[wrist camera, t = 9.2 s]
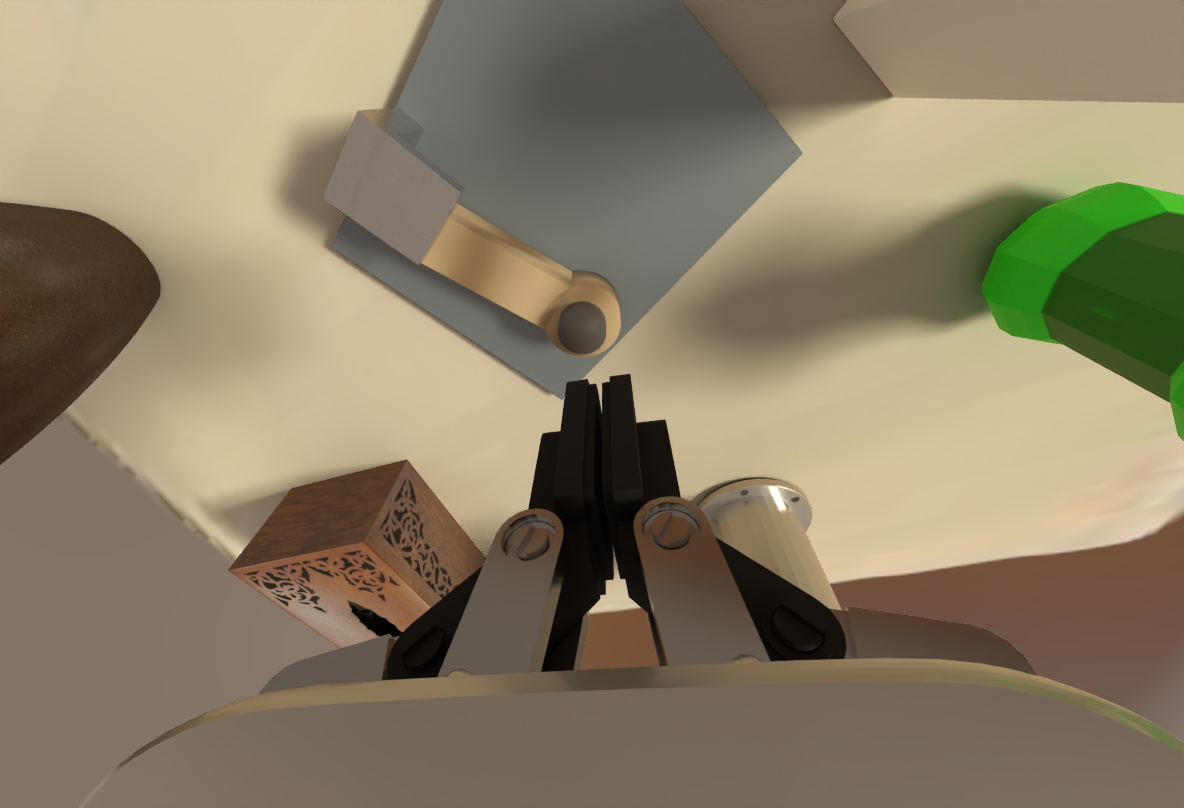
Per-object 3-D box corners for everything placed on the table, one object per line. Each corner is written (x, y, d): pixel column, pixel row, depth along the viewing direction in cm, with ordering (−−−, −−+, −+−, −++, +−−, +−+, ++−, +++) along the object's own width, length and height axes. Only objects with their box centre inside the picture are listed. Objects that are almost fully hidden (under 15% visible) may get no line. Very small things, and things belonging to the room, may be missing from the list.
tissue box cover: (292, 486, 46) (227, 570, 38) (408, 457, 43) (364, 541, 35) (420, 606, 60) (392, 685, 52) (513, 590, 58) (499, 671, 50)
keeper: (449, 235, 30) (418, 265, 25) (373, 178, 28) (322, 198, 23) (487, 174, 28) (460, 192, 22) (407, 107, 26) (358, 110, 20)
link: (633, 294, 31) (637, 320, 27) (595, 348, 34) (595, 379, 30) (424, 167, 26) (396, 179, 23) (399, 242, 29) (371, 263, 25)
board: (562, 391, 38) (561, 399, 37) (340, 242, 30) (331, 247, 29) (795, 150, 27) (803, 152, 26) (532, -177, 19) (529, -191, 18)
